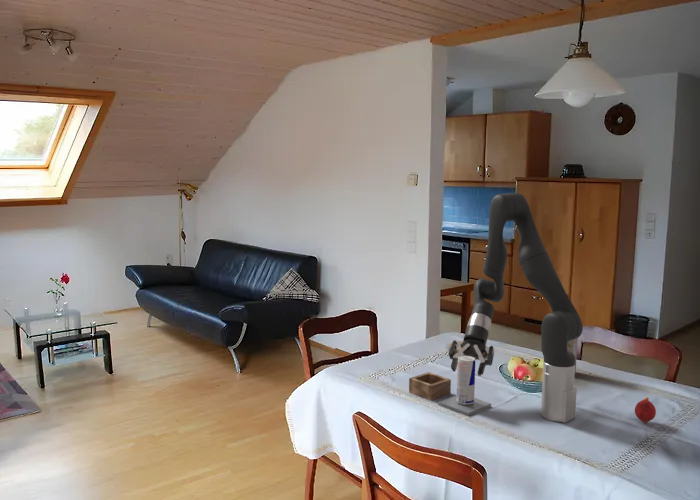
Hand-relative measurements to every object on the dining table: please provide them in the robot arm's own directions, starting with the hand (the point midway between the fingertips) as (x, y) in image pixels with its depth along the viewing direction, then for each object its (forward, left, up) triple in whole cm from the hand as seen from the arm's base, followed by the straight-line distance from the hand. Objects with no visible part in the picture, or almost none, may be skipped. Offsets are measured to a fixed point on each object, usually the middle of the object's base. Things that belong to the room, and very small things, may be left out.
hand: (466, 372), depth 196 cm
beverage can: (0, +1, -10) cm, 10 cm away
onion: (-44, -30, -11) cm, 55 cm away
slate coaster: (0, +1, -11) cm, 11 cm away
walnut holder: (+15, +1, -11) cm, 18 cm away
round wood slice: (+36, -47, -11) cm, 60 cm away
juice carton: (-4, -54, -11) cm, 56 cm away
